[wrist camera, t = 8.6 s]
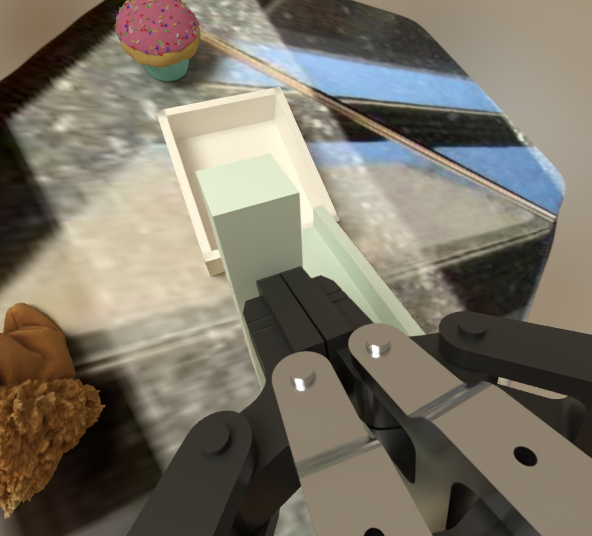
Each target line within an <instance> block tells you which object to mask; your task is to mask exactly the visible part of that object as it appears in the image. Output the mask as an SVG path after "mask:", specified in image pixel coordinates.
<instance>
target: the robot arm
mask: <svg viewBox="0 0 592 536" xmlns="http://www.w3.org/2000/svg"><path fill="white" fill-rule="evenodd" d="M256 285H257V289H258V292H259V296H258V297H256V298H253V299H250V300H247V301H245V305H244V309H243V315H244V319H245V322H246V325H247V328H248V331H249V335H250V338H251V341H252V344H253V347H254V350H255V353H256V356H257V358H258V361H259V363H260V366H261V369H262V371H263V374H264V377H265V379H266V382H265V385H264V388H263V390H262V392H261V393H260V395H259V396H258V398H257V399H256V400H255V401H254V402H253V403H252V404H250V405H249V406H248V407H247V408H245V409H244V410H243V411H242V412H240V413H237V412H234V411H220V412H216V413H213V414H211V415H209V416H207V417H205V418H203V419H202V420H201V421H199V422H198V423H197V424H196V425H195V426H194V427H193V428H192V429H191V430H190V432H189V433H188V434H187V436H186V438H185V439H184V441H183V443H182V444H181V446H180V448H179V449H178V451H177V453H176V454H175V456H174V458H173V459H172V461H171V463H170V464H169V466H168V468H167V469H166V471H165V473H164V474H163V476H162V478H161V479H160V481H159V483H158V484H157V486H156V487H155V489H154V491H153V492H152V494H151V496H150V497H149V499H148V501H147V502H146V504H145V506H144V507H143V509H142V511H141V512H140V514H139V516H138V517H137V519H136V521H135V522H134V524H133V526H132V527H131V529H130V531H129V532H128V534H127V536H273V535H274V532H275V528H276V525H277V522H278V518H279V510H280V507H281V506H282V505H283V504H284V503H285V502H286V501H287V500H288V499H289V498H290V497H291V496H292V495H293V494H294V493H295V492H296V491H297V490H298V489H299V488H300V487H302V490H303V494H304V497H305V501H306V504H307V508H308V511H309V515H310V518H311V522H312V525H313V529H314V532H315V536H592V335H590V334H584V333H580V332H574V331H569V330H564V329H559V328H554V327H549V326H543V325H538V324H533V323H528V322H523V321H518V320H512V319H507V318H502V317H497V316H492V315H487V314H481V313H476V312H467V311H463V312H455V313H452V314H449V315H447V316H446V317H444V318H443V319H442V320H441V322H440V325H439V333H434V334H426V335H419V336H407V335H405V334H404V333H403V332H402V331H400V330H399V329H397V328H396V327H393V326H391V325H387V324H381V323H374V322H373V321H372V320H371V319H370V318H369V317H368V316H367V315H366V314H365V313H364V312H363V311H362V310H361V309H360V308H359V307H358V306H357V305H356V304H355V302H354V301H353V300H352V299H351V298H349V296H348V295H347V294H346V293H345V292H344V291H342V289H341V288H340V287H339V286H338V285H337V284H336V283H335V281H334V280H331V279H329V278H326V277H324V276H322V275H319V276H316V277H314V278H311V277H310V276H309V275H308V273H307V272H306V271H305V270H304V269H303V268H302V267H301V266H299V267H296V268H293V269H290V270H287V271H284V272H281V273H279V274H275V275H272V276H269V277H266V278H263V279H260V280H257V281H256ZM498 377H501V378H505V379H509V380H512V381H516V382H520V383H524V384H527V385H531V386H534V387H538V388H542V389H546V390H549V391H553V392H556V393H560V394H563V395H567V397H566V398H563V399H549V398H546V397H542V396H539V395H535V394H531V393H528V392H525V391H521V390H517V389H514V388H511V387H507V386H503V385H500V384H497V382H498Z"/></svg>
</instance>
